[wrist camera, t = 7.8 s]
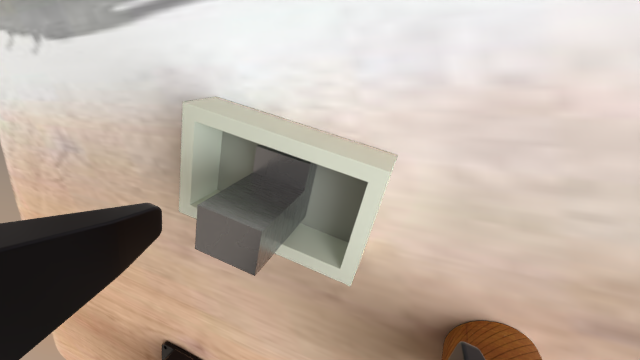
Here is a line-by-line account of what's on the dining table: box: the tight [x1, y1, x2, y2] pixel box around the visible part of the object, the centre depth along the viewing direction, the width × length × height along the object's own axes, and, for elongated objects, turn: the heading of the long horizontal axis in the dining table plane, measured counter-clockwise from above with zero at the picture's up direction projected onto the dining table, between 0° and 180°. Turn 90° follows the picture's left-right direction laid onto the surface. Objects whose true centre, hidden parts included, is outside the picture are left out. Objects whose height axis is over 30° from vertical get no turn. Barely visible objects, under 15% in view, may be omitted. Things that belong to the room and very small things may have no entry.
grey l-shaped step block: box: [195, 144, 318, 276], centre depth 20 cm, size 5×4×8 cm
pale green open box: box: [179, 97, 398, 286], centre depth 22 cm, size 8×14×4 cm, turn 77°
